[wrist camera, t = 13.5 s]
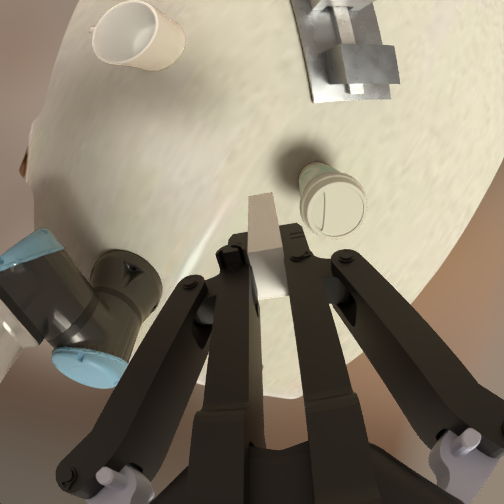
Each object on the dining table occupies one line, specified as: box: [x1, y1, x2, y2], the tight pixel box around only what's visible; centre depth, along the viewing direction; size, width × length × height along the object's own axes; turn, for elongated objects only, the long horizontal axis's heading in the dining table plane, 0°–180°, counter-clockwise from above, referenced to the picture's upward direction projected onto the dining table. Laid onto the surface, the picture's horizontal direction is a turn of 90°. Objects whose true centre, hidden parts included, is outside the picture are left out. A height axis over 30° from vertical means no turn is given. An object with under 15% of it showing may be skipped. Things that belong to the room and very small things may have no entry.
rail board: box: [291, 0, 400, 103], centre depth 23 cm, size 30×12×9 cm, turn 11°
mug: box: [88, 0, 186, 71], centre depth 24 cm, size 12×8×12 cm
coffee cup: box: [298, 162, 367, 240], centre depth 36 cm, size 8×8×12 cm
